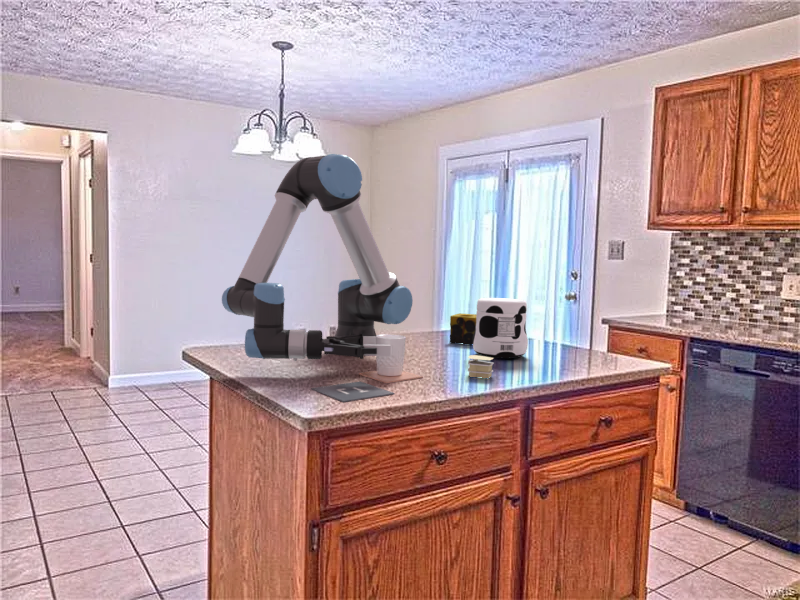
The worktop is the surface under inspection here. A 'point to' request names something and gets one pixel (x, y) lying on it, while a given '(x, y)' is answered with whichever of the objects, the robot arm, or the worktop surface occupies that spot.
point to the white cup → (391, 355)
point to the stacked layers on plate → (480, 366)
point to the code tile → (352, 391)
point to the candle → (462, 328)
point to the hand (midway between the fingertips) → (388, 346)
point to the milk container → (500, 328)
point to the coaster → (390, 379)
